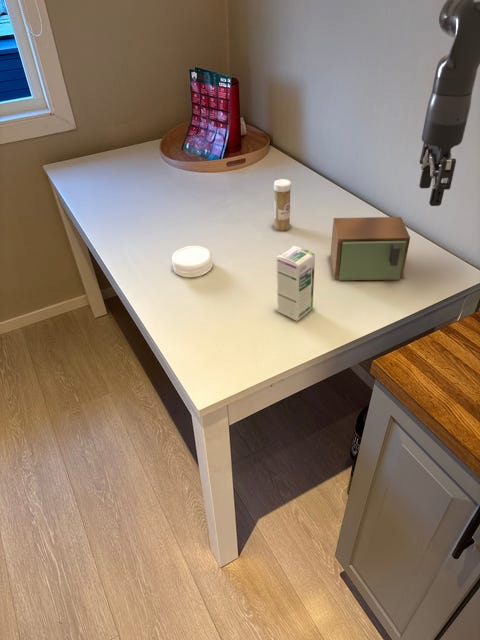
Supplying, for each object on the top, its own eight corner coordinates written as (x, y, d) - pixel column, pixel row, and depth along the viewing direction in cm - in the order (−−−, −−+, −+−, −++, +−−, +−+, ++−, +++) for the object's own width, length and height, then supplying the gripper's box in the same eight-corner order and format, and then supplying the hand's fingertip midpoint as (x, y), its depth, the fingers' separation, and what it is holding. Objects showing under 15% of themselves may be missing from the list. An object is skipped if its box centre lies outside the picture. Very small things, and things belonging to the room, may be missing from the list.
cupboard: (393, 256, 123) (401, 216, 116) (402, 278, 115) (410, 237, 108) (330, 256, 124) (333, 218, 117) (334, 279, 116) (338, 238, 109)
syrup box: (297, 322, 105) (299, 265, 95) (276, 311, 108) (276, 255, 99) (313, 309, 108) (316, 253, 99) (291, 299, 111) (293, 244, 102)
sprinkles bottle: (285, 232, 135) (285, 186, 126) (270, 228, 137) (270, 183, 128) (293, 225, 138) (294, 180, 129) (279, 221, 140) (279, 177, 131)
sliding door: (398, 277, 115) (405, 240, 108) (401, 285, 112) (409, 248, 106) (338, 278, 116) (342, 241, 109) (340, 286, 113) (344, 249, 107)
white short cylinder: (187, 253, 129) (185, 241, 126) (219, 261, 125) (218, 249, 122) (165, 272, 122) (163, 260, 120) (199, 282, 118) (198, 269, 116)
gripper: (479, 128, 87) (457, 211, 97) (455, 105, 98) (438, 181, 108) (436, 129, 87) (419, 212, 97) (417, 106, 98) (404, 182, 108)
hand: (429, 196), depth 103 cm, fingers open, 8 cm apart
